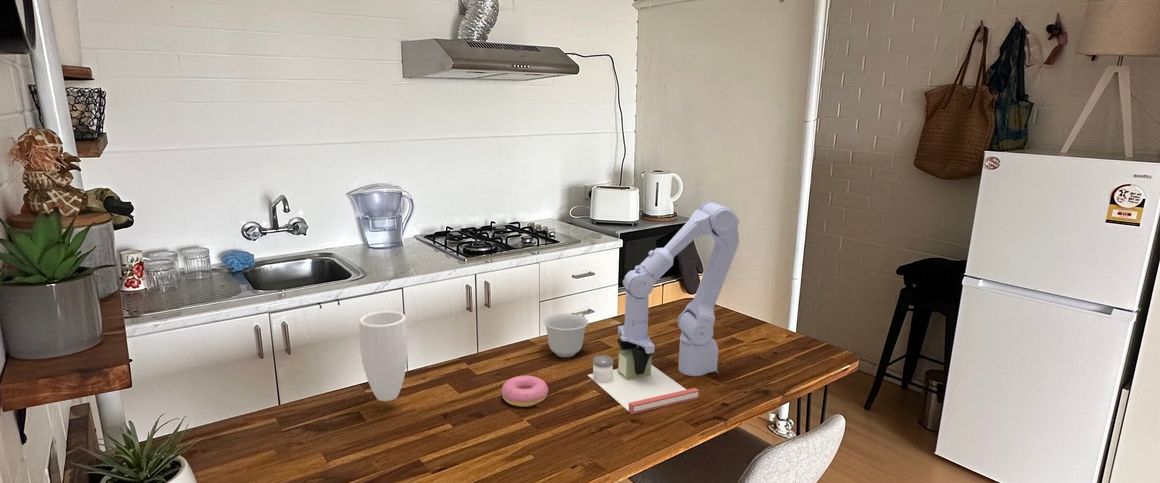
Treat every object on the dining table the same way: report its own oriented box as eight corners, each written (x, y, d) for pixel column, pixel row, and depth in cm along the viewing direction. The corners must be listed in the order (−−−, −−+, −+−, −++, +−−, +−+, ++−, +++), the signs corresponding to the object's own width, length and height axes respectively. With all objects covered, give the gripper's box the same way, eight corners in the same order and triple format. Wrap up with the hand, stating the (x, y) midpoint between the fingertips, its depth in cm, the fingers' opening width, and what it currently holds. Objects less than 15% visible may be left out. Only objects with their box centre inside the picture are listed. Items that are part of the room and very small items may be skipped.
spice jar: (606, 372, 163) (607, 354, 162) (616, 380, 159) (617, 361, 158) (589, 376, 161) (589, 357, 160) (598, 384, 157) (598, 365, 155)
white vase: (420, 401, 148) (416, 313, 143) (394, 423, 139) (388, 329, 134) (382, 394, 152) (377, 307, 147) (353, 415, 142) (346, 322, 137)
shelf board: (648, 365, 170) (648, 355, 169) (698, 401, 150) (699, 390, 150) (587, 377, 162) (587, 367, 161) (632, 417, 143) (632, 406, 142)
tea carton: (641, 368, 166) (642, 346, 165) (650, 375, 162) (651, 352, 161) (617, 373, 163) (618, 351, 162) (626, 380, 159) (627, 357, 158)
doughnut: (517, 384, 158) (517, 368, 157) (556, 393, 154) (556, 377, 153) (492, 403, 149) (491, 386, 148) (533, 413, 144) (533, 396, 143)
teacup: (601, 349, 179) (602, 315, 177) (571, 368, 167) (572, 332, 165) (565, 340, 186) (565, 307, 183) (534, 358, 173) (534, 322, 171)
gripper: (608, 311, 164) (606, 361, 167) (637, 330, 151) (635, 384, 154) (632, 308, 167) (630, 356, 170) (662, 326, 154) (660, 378, 157)
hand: (634, 369), depth 162 cm, fingers open, 5 cm apart
